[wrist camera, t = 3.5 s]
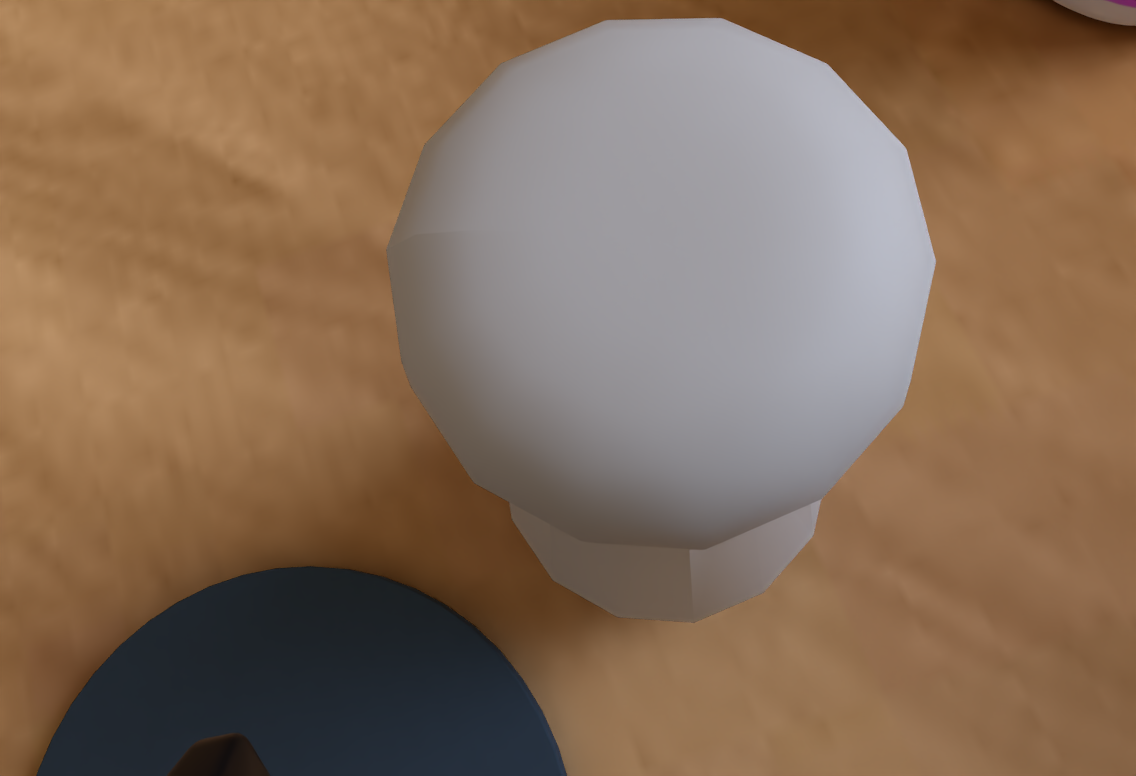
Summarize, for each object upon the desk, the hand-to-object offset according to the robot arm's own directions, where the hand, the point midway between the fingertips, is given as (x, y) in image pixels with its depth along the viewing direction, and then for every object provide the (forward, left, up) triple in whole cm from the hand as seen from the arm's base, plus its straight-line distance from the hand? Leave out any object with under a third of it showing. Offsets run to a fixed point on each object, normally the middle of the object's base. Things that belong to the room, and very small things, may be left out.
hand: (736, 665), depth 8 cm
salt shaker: (+3, +1, -10) cm, 11 cm away
